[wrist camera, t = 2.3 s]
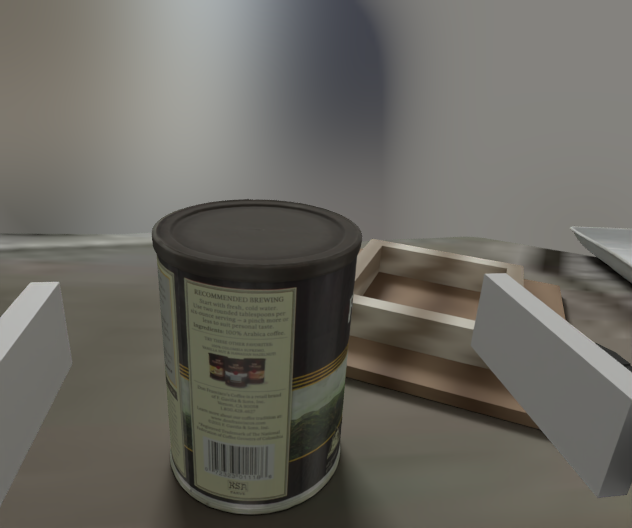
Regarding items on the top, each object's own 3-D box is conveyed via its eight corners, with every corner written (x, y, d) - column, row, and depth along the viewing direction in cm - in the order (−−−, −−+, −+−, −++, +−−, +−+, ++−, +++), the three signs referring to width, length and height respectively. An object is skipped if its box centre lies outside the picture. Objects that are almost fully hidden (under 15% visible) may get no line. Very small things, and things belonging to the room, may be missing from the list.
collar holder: (251, 351, 40) (251, 306, 38) (343, 253, 61) (346, 221, 59) (581, 440, 32) (598, 390, 31) (556, 294, 53) (566, 259, 52)
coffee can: (307, 381, 37) (319, 194, 31) (368, 489, 28) (400, 255, 22) (161, 406, 33) (145, 201, 28) (178, 540, 24) (160, 276, 19)
